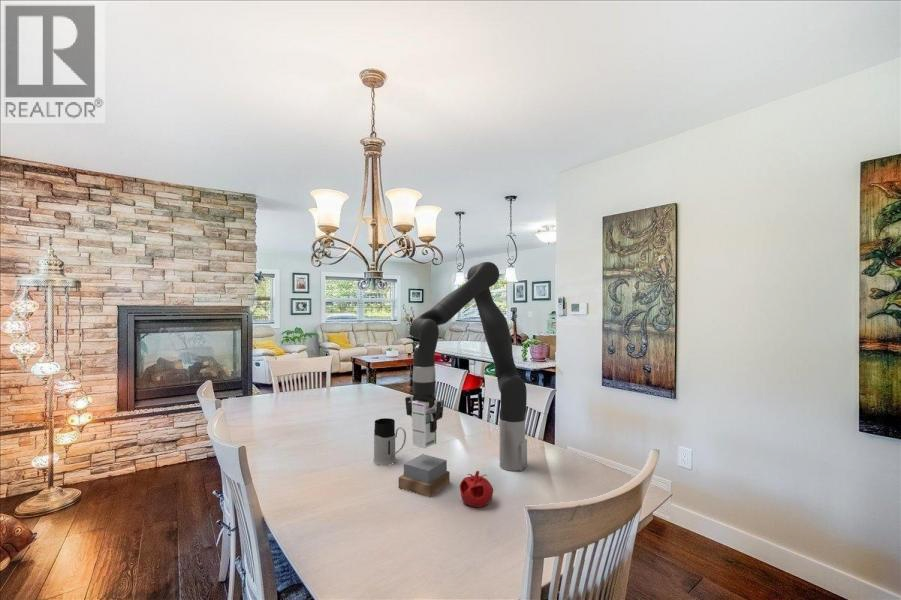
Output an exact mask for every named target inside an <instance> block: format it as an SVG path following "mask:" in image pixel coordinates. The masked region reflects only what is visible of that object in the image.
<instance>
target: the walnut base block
mask: <svg viewBox="0 0 901 600" xmlns="http://www.w3.org/2000/svg"><path fill="white" fill-rule="evenodd" d="M450 475H451V473H450V470H447V473H445V474H443V475H442V476H440V477H439V478H437V479H435V480H434V481H432V482H431V483H429V484H427V483H424V482H421V481H418V480H415V479H411V478H408V477H405V476H404V473H403V474H402V475H400V476H398V489H399V488H400V489H399V490H402V489H404V490H403V491H406V490H407V491H406V492H409V491H411V493H413V492H414V493H413V494H416V493H418V494H417V495H420V494H421V495H420V496H424V497H427V496H428V497H427V498H431V497H432V496H434V495H436V493H438V492H439V491H440V490H442V488H444V487H446V485H448V484H449V483H450V482H451V481H450V480H451V479H450V478H451V477H450Z"/></svg>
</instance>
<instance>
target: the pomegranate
mask: <svg viewBox="0 0 901 600" xmlns="http://www.w3.org/2000/svg"><path fill="white" fill-rule="evenodd" d="M485 476H486V474H483V475H480V470H476V471H475V474H474V475H473V474H472V473H468V474H467V476H466V477H464V478H463V479H462V481H460V484H459V491H460V497H461V500H462V502H463V503H464V504H465V505H468V506H471V507H474V508H480V507H485V506H487V505H488V503H489V502H491V501H492V498H493V496H494V495H493V494H494V487H493V485H492V484H491V483H490V482H489V480H488V479H487V478H485Z"/></svg>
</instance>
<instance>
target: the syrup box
mask: <svg viewBox="0 0 901 600" xmlns="http://www.w3.org/2000/svg"><path fill="white" fill-rule="evenodd" d="M428 407H429V402H423V401H412V417H411V426H412V428H411V429H412V432H411V434H412V439H411V440H412V445H413V446H416V447H418V448H419V447H420V448H423V449H427V448H429V447H431V446H433V445H436V444H437V430H436V431H435V432H433V433H432V432H430V421H431V420H430V417H429V415H428ZM434 408H435V410H436V404H434V406H433V407H432V408H429V409H430V411H433V410H434ZM432 414H433V413H432Z"/></svg>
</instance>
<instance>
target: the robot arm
mask: <svg viewBox="0 0 901 600" xmlns="http://www.w3.org/2000/svg"><path fill="white" fill-rule="evenodd" d="M466 276H467V277H466V278H467V280H466V282H465V283H463V284H462V285H460V286H459V287H458V288H455V289H454V290H453V291H451V292H450V293H448V294H447V295H446V296H444V297H443V298H442V299H440V301H438V302H437V303H436V304H435V305H434V306H433V307H432V308H430V309H429V310H426V311H425V312H424V313H421V314H420V315H419V316H417V317H416V318H415V319H414V320H412V322H411V323H410V325H409V334H410V335H411V336H412V338H413V339H416V340H419V342H418V347H416V348H415V349H414V350H413V354H412V355H413V360H412V361H413V362H412V363H413V367H412V394H413V395H410V396H406V397H405V399H404V401H405V411H406V412H405V413H406V415H407V416H410V417H411V418H412V401H423V402H429V407H428V415H429V417H430V420H431V421H430V432H432V433H433V432H435V431H436V432H437V429H438V421H439V420H441V419H443V413H444V404H445V403H444V402H445V401H444V400H443V399H441V400H439V399H437V398H436V390H437V389H436V386H437V385H436V383H437V382H436V377H437V375H436V374H437V373H436V365H435V363H436V362H435V361H436V359H435V358H436V356H435V352H436V349H437V346H438V341H439V335H440V331H439V326H441V325H445V324H447V323H448V322H449V321H450V320H452V318H454V317H455V316H456V315H457V314H458V313H459V312H460V311H461V310H463V308H464V307H465V306H466V305H468V304H469V303H470V302H471V301H472V300H473V299H474V302H475V304H476V308H477V311H478V315H479V318H480V321H481V326H482V331H483V334H484V337H485V341H486V343H487V347H488V350H489V353H490V355H491V358H492V360H493V363H494V367H495V372H496V378H497V379H496V381H497V385H498V390H499V392H500V409H499V467H500V468H502V469H503V470H506V471H509V472H510V471H512V472H518V471H519V472H522V471H523V470H524V469H525V468H526V467H527V466H528V439H527V438H526V413H527V396H528V395H527V386H526V382H525V380H523V379H522V378H521V377H520V374H519V371H518V369H517V367H516V363H515V360H514V355H513V342H512V336H511V331H510V327H509V324H508V321H507V319H506V317H505V315H504V313H503V312H502V311H501V309H500V308H499V307H498V305H497V304H496V303H495V302H494V299H493V297H492V292H491V290H490V289H491V287H492V286H495V285H496V284H497V283H498V280H499V279H500V270H499V267H498V266H497V265H496V264H495V263H494V262H491V261H483V262H480V263H479V264H478V263H477V264H475V265H473V266H471V267H470V268H469V269H468V271H467V275H466ZM434 404H436V410H435V408H434V410H433V411H430V409H429V408H432V407H433V406H434ZM432 413H433V414H432Z"/></svg>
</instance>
